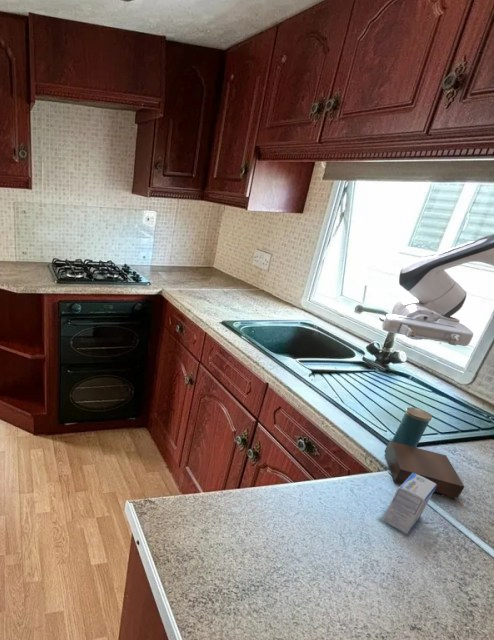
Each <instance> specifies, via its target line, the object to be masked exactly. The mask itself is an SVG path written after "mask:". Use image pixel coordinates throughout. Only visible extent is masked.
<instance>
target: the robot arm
mask: <svg viewBox="0 0 494 640" xmlns="http://www.w3.org/2000/svg"><path fill="white" fill-rule="evenodd" d="M473 262H476V263H477V262H478V263H482V264H487V265H490V266H491V267H494V233H492V234H489V235H486V236H483V237H480V238H477V239H474V240H471V241H467V242H465V243H462V244H460V245H456V246H453V247H451V248H448V249H446V250H442V251H440V252H437V253H434V254H430V255H425V256H421V257H419V258H416V259H414V260H411V261H410V262H409V263H407V264H406V265H405V266H403V267H402V269H401V270H400V272H399V276H398V277H399V279H398V284H399V286H401V287H402V288H403V289H404V290H406V292H409V293H410V294H411V295H412V298H411V297H408V298H407V297H406V298H402V299H400V300H398V301H397V302H395V304H394V306H393V307H392V310H391V313H387V314H386V315H384V316H380V317H379V318H378V320H379V321H380V322H382V323H381V329H382V331H385V332H388V333H393V334H397V335H402V336H403V335H404V336H405V337H406V338H408V339H411V340H414V341H415V340H417V341H418V340H419V341H421V340H430V341H436V342H440V343H441V342H442V343H446V344H448V345H450V346H454V347H456V346H462V347H467V346H469V345H470V343H471V341H472V339H473V337H474V332H473V331H472V330H471V329H470V328H469V327H467V326H465V325H464V324H462V323H460V319H458V318H456V317H453V315H455V314H456V313H457V312H459V311H460V310H461V309H462V307H463V306H464V304H465V302H466V299H467V291H466V290H465V289H464V288H463V287H462V286H461V285H460V284H459V283H458V281H456V280H455V279H454V278H453V277H452V276H451V275H450V274H449V273H448V272H447V271H446V270H449V269H451V268H454V267H458V266H461V265H464V264H467V263H473Z"/></svg>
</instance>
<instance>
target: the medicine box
mask: <svg viewBox="0 0 494 640" xmlns="http://www.w3.org/2000/svg"><path fill="white" fill-rule="evenodd" d="M436 487H437V484H436V483H434V482H432V481H430V480H428V479H426V478H424V477H422V476H420V475H418V474H415V473H412V474H411V475H410V476H409V477H408V479H407V480H406V481H405V482H404V483H403V484H400V486H399V487H398V488H397V489H396V492H395V493H394V496H393V498H392V500H391V501H390V503H389V506H388V507H387V510H386V512H385V513H384V516H383V518H382V521H384V522H385V523H387V524H388V525H390V526H392V527H393V528H396V529H397V530H399V531H401V532H402V533H404V534H406V535H407V534H408V533H410V531H411V530H412V528H413V527H414V525H415V524H416V522H417V521H418V520H419V518H421V516H422V513H423V512H424V510H425V509H426V507H427V505H428V503H429V501H430V500H431V497H432V495H434V493H435V492H434V490H435V489H436Z"/></svg>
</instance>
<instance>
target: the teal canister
mask: <svg viewBox="0 0 494 640" xmlns="http://www.w3.org/2000/svg"><path fill="white" fill-rule="evenodd" d="M432 418H433V416H432V415H431V413H429V412H428V411H426V410H424V409H422V408H418V407H412V406H408V407H407V408H406V409H405V412H404V414H403V416H402V419H401V420H400V422H399V425H398V427H397V429H396V431H395V433H394V436H393V437H392V440H391V441H392V442H396V443H400V444H404V445H408V446H412V447H415V448H418V447H417V446H419V445H418V444H419V443H420V441H421V439H422V437H423V435H424V433H425V431H426V429H427V427H428V425H429V423H430V421H431V420H432Z"/></svg>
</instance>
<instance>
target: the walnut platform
mask: <svg viewBox="0 0 494 640" xmlns="http://www.w3.org/2000/svg"><path fill="white" fill-rule="evenodd" d="M384 458H385V461H386V463H387V466H388V469H389V472H390V475H391V478H392V480H393V483H395V484H398V485H402V484H403V483H404V482H405V481H406V480H407V479H408V477H409V476H410V475H411V474H412V473H415V474H418V475H420V476H422V477H424V478H426V479H428V480H430V481H432V482H434V483H436V484H437V487H436V489H435V490H434V492H433V493H438V494H440V495H441V497H445V498H449V499H452V500H455V499H459V497H460V495H461V494H462V492H463V490H464V488H465V485H464V483H463V481H462V480H461V478H460V476H459V475H458V473H457V471H456V470H455V468H454V466H453V464H452V463H451V461H450V460H449V458H448V456H447V454H442V453H439V452H435V451H430V450H427V449H423V448H419V447H416V448H415V447H412V446H408V445H404V444H400V443H396V442H392V440H388V443H387V445H386V446H385V449H384Z"/></svg>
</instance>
